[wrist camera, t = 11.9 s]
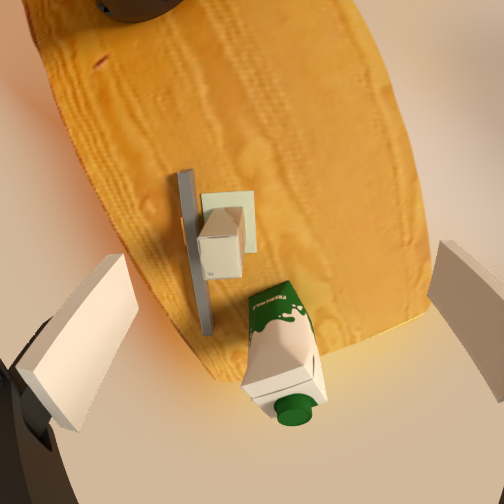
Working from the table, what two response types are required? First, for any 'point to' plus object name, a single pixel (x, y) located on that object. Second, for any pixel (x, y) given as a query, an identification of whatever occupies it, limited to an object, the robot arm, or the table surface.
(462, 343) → the robot arm
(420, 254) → the table surface
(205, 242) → the box
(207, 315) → the rail
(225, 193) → the pad
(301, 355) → the fresh milk carton
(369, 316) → the table surface
